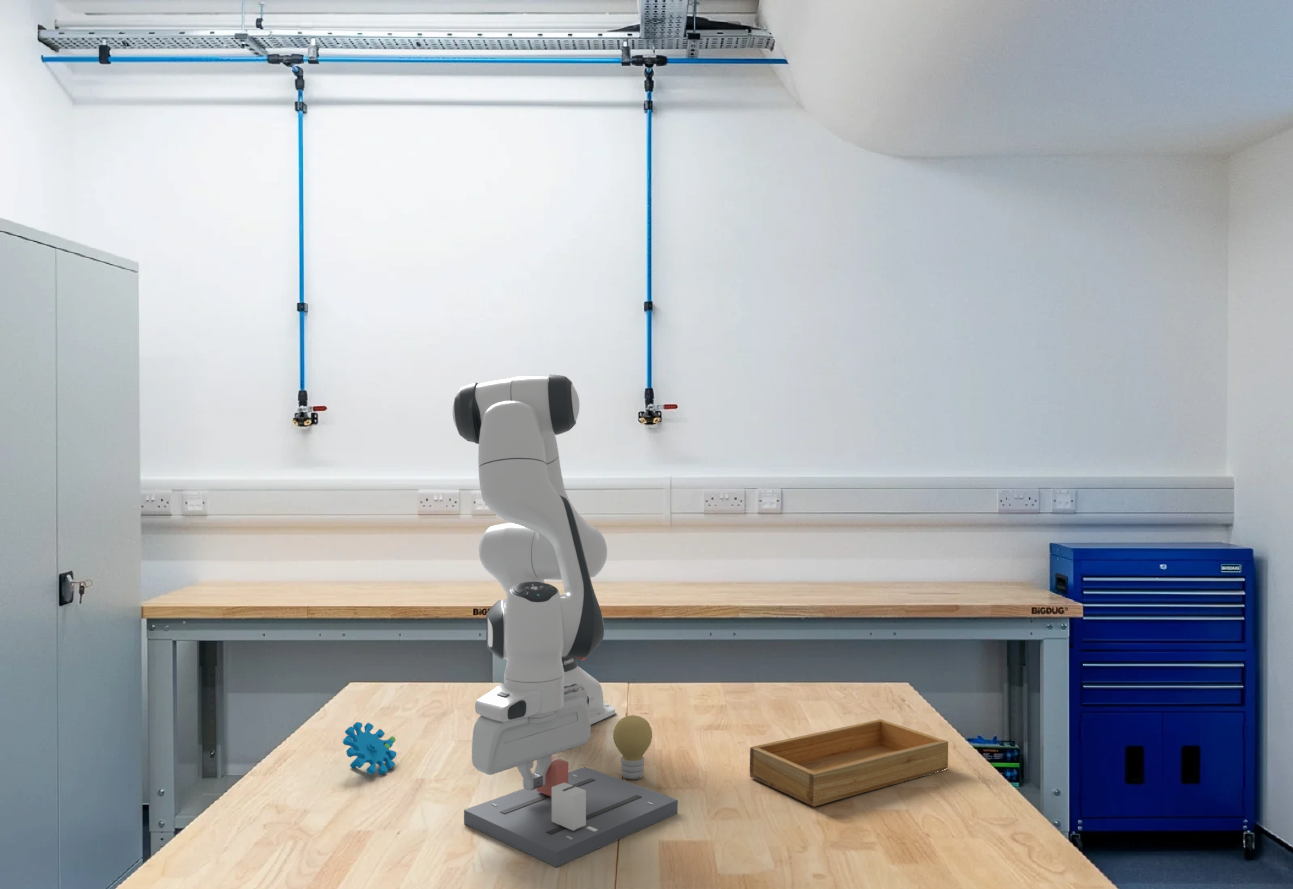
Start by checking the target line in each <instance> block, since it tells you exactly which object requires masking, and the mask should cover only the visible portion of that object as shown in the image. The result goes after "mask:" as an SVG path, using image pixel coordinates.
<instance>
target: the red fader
mask: <svg viewBox="0 0 1293 889" xmlns="http://www.w3.org/2000/svg"><path fill="white" fill-rule="evenodd" d="M537 763H538V761H537V760H536V764H537ZM568 773H569V761H566V760H563V759H561V758H558V757H555V756H552V762H551V764H550V766H549V769H548V771H547V773H546V774H545V785H544V786H542V787H539V788H537V791H538V792H541V793H543V794H546V795H548V796H551V797H552V787H553V786H556V785H559V784H562V783H564V782H565V783H567V784H568Z"/></svg>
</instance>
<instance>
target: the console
mask: <svg viewBox="0 0 1293 889" xmlns="http://www.w3.org/2000/svg"><path fill="white" fill-rule="evenodd" d="M568 784H570V785H573V786H575V787H578V788H580V789H583V790H586V825H585V826H583V827H580V828H578V829H576V830H571V829H568V828H566V827H563V826H561V825H559V824H556V823H554V822H552V797H551V796H548V795H546V794H543V793H541V792H538V791H537V788H536V789H533V790H531V791H528V790H526V789H524V788H521V789H519V790H516V791H514V792H510V793H507V794H505V795H502V796H499V797H497V798H493V799H491V800H488V801H485V802H482V803H479V804H477V805H473V806H471V807H468V808H466V809H463V824H464V825H467V827H470V828H473V829H474V830H477V831H479V832H481V833H483V834H485V835H487V836H489V837H492V838H494V839H496V840H498V841H500V842H502V843H504V844H506V845H508V846H510V847H513V848H515V849H517V850H518V851H520V852H523V853H526V854H528V855H529V856H532V857H533V858H536V859H537V860H540V861H541V862H544V863H546V864H549V865H550V866H552V867H555V868H558V867H561V866H563V865H565V864H567V863H569V862H572V861H575V860H576V859H579V858H580V857H583V856H585V855H587V854H589V853H592V852H594V851H596V850H598V849H601V848H602V847H605V846H607V845H609V844H612V843H614V842H616V841H618V840H621V839H624V838H625V837H628V836H629V835H632V834H634V833H636V832H639V831H640V830H641V831H642V830H643V829H645V828H647V827H650V826H652V825H654V824H657V823H659V822H661V821H663V820H665V819H667V818H670V817H672V816H674V815H676V814H678V812H679V811H678V810H679V807H678V806H679V803H678V802H679V800H678V799H677V798H674V797H671V796H669V795H666V794H663V793H660V792H657V791H654V790H651V789H649V788H646V787H643V786H640V785H638V784H634V783H632V782H629V781H626V780H623V779H621V778H617V777H615V776H613V775H609V774H606V773H604V772H602V771H598V770H595V769H592V768H589V767H587V766H583V767H580V768H577V769H575V770H572V771H568Z"/></svg>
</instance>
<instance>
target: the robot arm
mask: <svg viewBox="0 0 1293 889" xmlns="http://www.w3.org/2000/svg"><path fill="white" fill-rule="evenodd" d="M579 414H580V399H579V394H578V392H577V390H576V388H575V386H574V385H573V382H572V381H571V379H569V378H568V377H567V376H565V375H561V374H549V375H548V376H547V375H524V376H523V375H521V376H513V377H511V378H502V379H501V378H500V379H497V380H491V381H486V382H481V383H478V382H473V383H469V384H467V385H464V386H461V387H460V388H459V389H458V391H457V392H456V393H455V395H454V401H453V405H452V420H453V423H454V426H455V427H456V430H457V432H458V434H459V436H460V437H462V438H463V439H464V440H466V441H467V442H471V443H474V444H476V445H478V455H477V456H478V458H477V459H478V460H477V461H478V480H479V487H480V494H481V497H482V501H483V502H484V504H485V505H486V507H488V509H489V510H490V511H492V513H494V514H495V515H496V516H498V517H499V518H501V519H503V520H505V521H507V522H504V523H497V524H495V525H490V526H489V527H488V528H487V529H486V530H485V531H484V533H483V534H482V536H481V539H480V540H479V541H480V542H479V546H478V553H479V559H480V562H481V564H482V566H483V568H484V569H485V571H487V572H488V573H489V574H490V575H491V576H493V577H494V578H495V580H496V581H497V582H498V583H499V584H500V586H501V588H502V589H503V591H504V592H505V594H506V598H503V599H501V600H500V599H499V600H498V601H496V602H495V603H494V604H493V605H492V606H491V607H490V608H489V610H488V611H487V612H486V614H485V615H486V636H485V637H486V640H485V643H486V644H485V645H486V649H487V650H488V651H489V652H491V653H492V654H493V655H495V656H496V657H497V658H499V659H500V660H506V666H505V669H504V674H503V675H504V676H503V681H502V682H500V683H499V684H498V685H497V686H495V687H494V688H492V689H491V690H489V691H488V692H486V693H485V694H483V695H482V696H481V697H479V698H477V699H476V700H475V703H474V704H475V705H474V712H475V713H476V714H477V715H479V717H478V718H477V719H476V721H475V723H474V726H473V730H472V738H471V742H472V743H471V762H472V765H473V767H474V768H475V770H477V771H479V772H481V773H483V774H485V775H488V776H489V775H490V776H491V775H492V776H493V775H495V774H498V773H501V772H504V771H507V770H510V769H513V768H516V769H517V770H518V772H519V774H520V775H521V777H522V786H523V789H526V790H528V791H531V790H533V789H536V788H539V787H542V786H544V785H545V774H546V773H547V771H548V769H549V766H550V764H551V762H552V757H553V756H552V755H556V754H558V753H561V752H564V751H567V750H571V749H574V748H577V747H579V746H582V745H583V746H584V745H585V744H588V742H589V740H590V737H591V735H592V729H591V728H592V727H591V725H593V724H595V723H598V722H600V721H602V720H605V719H607V718H609V717H612V716H614V715H615V714H616V708H615V707H614V706H613V705H611V704H609V703H606V702H605V701H604V693H603V692H604V691H603V688H602V685H601V683H600V682H599V681H598V679H596V678H594V677H593V676H592V675H590V674H589V673H588V672H587V671H585V670H583V669H582V668H581V667H580V666H578V665H579V664H578V661H577V659H580V660H582V661H584V660H586V659H587V657H588V656H590V655H591V654H592V653H593V652H594V651H595V650H596V649H597V648H598V647H599V646H600V644H601V643H602V641H603V640H604V635H605V630H604V629H605V625H604V624H605V623H604V616H603V614H602V611H601V610H602V609H601V606H600V604H599V602H598V599H597V598H598V597H597V596H596V593H595V589H594V587H593V583H592V580H591V578H595V577H596V576H598V575H599V573H601V571H602V570H603V568H604V566H605V564H606V561H607V557H608V546H607V543H606V540H605V538H604V536H603V534H602V533H601V531H600V530H599V529H598V528H597V527H595V526H593V525H591V524H590V523H589V522H587V520H585V519H584V518H583V517H582V516H581V515H580V514H579V512H578V511H577V510H576V508H575V507H574V505H573V504H572V503H571V501H570V499H569V497H568V494H567V491H566V488H565V485H564V480H563V476H562V474H563V473H562V470H561V469H562V468H561V462H560V454H559V447H558V442H557V437H556V436H558V435H561V434H564V433H567V432H570V430H572V429H573V427H575V425H576V424H577V419H578V417H579ZM544 580H552V581H553V580H555V581H562V585H563V590H564V593H562V594H560V591H559V590H558V588H557V587H555V586H554V585H552V584H551V583H545V581H544ZM535 761H536V766H535V769H534V772H533V771H532V770H531V769H533V768H534V762H535ZM537 761H538V763H537Z"/></svg>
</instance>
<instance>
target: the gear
mask: <svg viewBox="0 0 1293 889" xmlns="http://www.w3.org/2000/svg"><path fill="white" fill-rule="evenodd" d="M362 728H364V731H362ZM373 729H374V725H373V723H370V722H367V723H366V724H365V725H364V726H363V723H362V722H358V721H356V722H355V723H353V725H352V726H349V727H348V728H346V730H344V733H345V735H346V736H345V737H344V738H343V739H342V744H343V745H345V746H349V747H348V748H347V749H346V755H347V757H348V758H352V757H355V759H354V760H353V761H352V762H350V765H349V767H350V768H351V769H357V768H358V769H361V768H362V767H363V766H364V765H365V764H367V763H368V764H369V766H368V767H367V768H366V770H365V771H366V772H367V773H368V774H369V775H374V774H375V773H376V772H378V773H377V774H379V775H385V774H387V772H388V770H391V769H392V768H393V767H394V766H395V765H396V763H395V761H393V760H394V759H396V757H397V752H396V751H395V750H391V748H392V747H393V746H394V745H393V744H394V743H395V742H396V738H395V737H394V736H390V738H388V739H385V740H384V739H382V738H383V737H384V736H385V735H386V734H385V731H383V730H382V729H381V728H379V729H378V730H377V731H376V732H375V733H371V731H372V730H373ZM377 765H378V769H377Z"/></svg>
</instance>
